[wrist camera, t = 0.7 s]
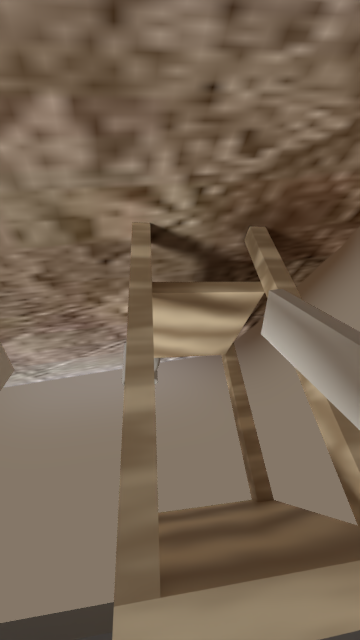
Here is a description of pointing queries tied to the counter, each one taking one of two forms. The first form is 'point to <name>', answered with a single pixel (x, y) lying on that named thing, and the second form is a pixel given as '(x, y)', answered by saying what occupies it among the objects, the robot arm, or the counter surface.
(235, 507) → the stand
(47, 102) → the counter surface
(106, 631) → the grey square bar
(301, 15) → the counter surface
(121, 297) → the counter surface
